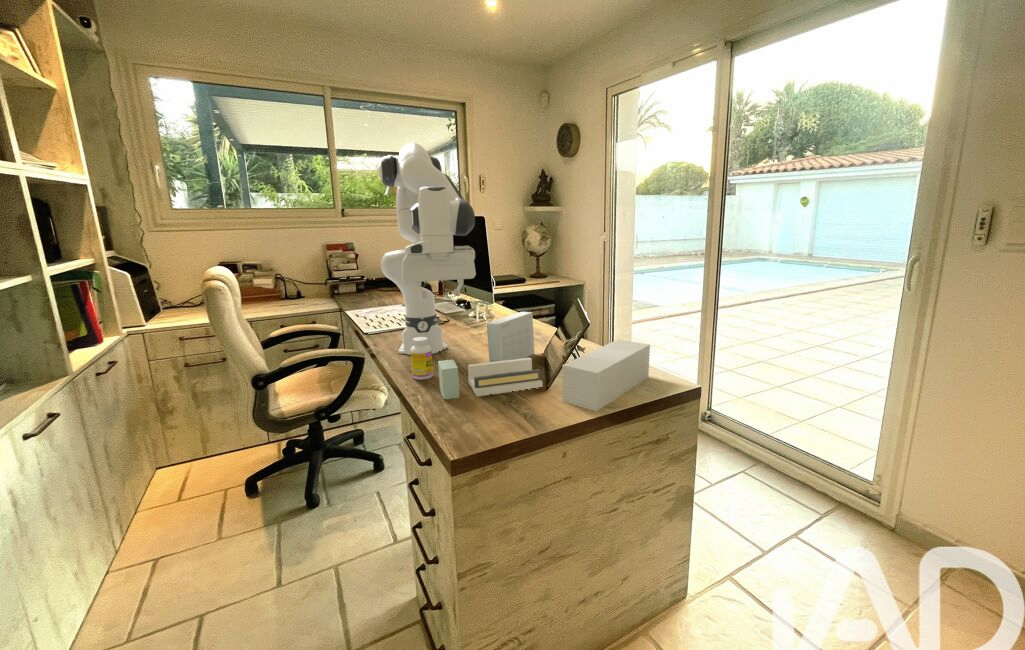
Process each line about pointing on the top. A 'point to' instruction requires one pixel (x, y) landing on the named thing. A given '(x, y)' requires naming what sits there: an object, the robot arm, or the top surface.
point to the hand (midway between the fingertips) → (440, 296)
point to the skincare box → (511, 337)
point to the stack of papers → (605, 373)
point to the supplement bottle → (421, 359)
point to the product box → (448, 379)
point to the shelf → (503, 376)
